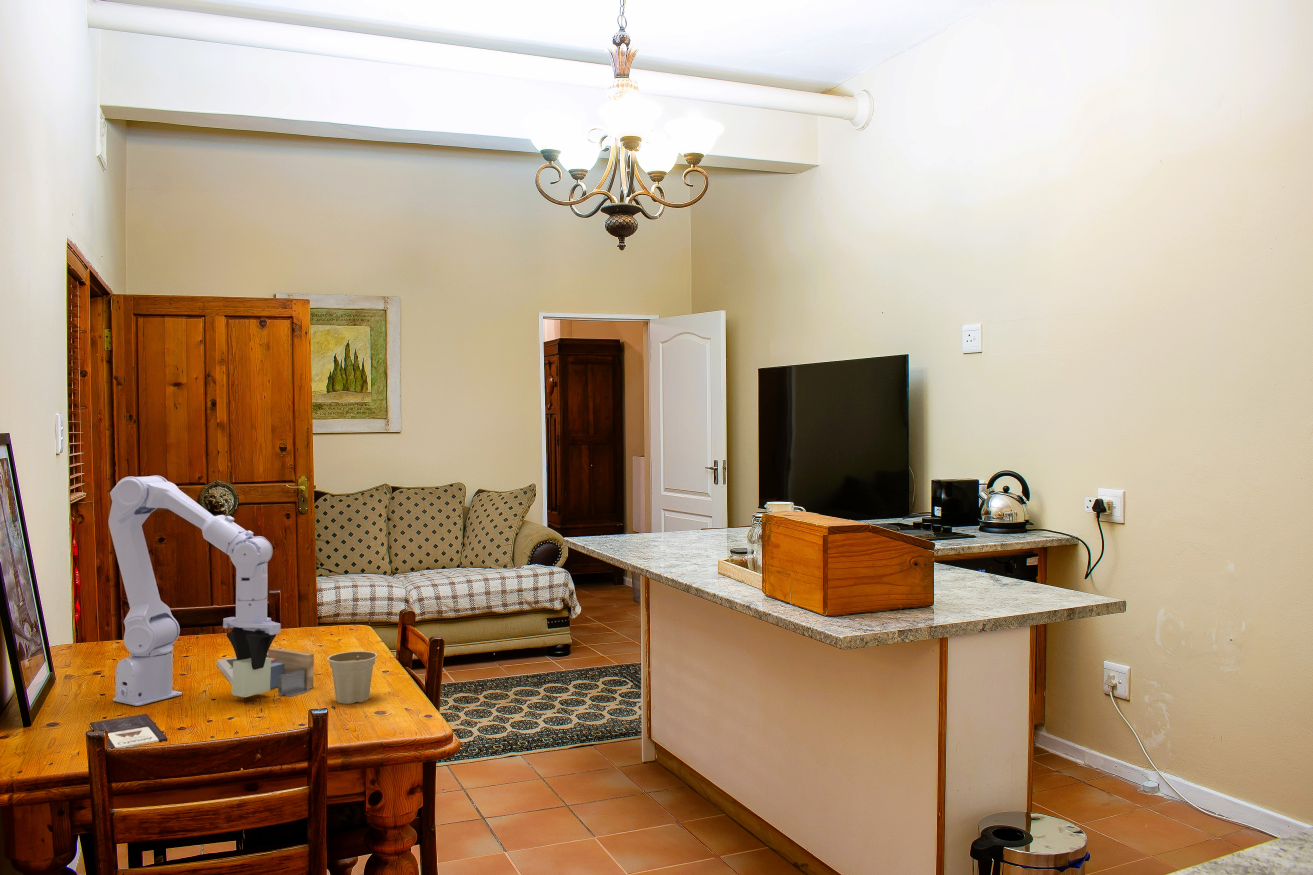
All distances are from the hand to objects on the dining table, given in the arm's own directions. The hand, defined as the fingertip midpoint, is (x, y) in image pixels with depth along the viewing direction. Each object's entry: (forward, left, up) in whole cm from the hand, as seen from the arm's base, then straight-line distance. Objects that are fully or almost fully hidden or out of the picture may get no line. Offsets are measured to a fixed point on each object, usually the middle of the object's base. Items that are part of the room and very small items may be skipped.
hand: (251, 667), depth 180 cm
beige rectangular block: (0, 0, -5) cm, 5 cm away
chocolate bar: (-25, 0, -7) cm, 26 cm away
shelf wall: (+11, +2, -6) cm, 13 cm away
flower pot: (+9, -18, -6) cm, 21 cm away
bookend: (+7, -3, -6) cm, 10 cm away
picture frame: (+17, +18, -7) cm, 25 cm away
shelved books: (+7, +5, -6) cm, 11 cm away
